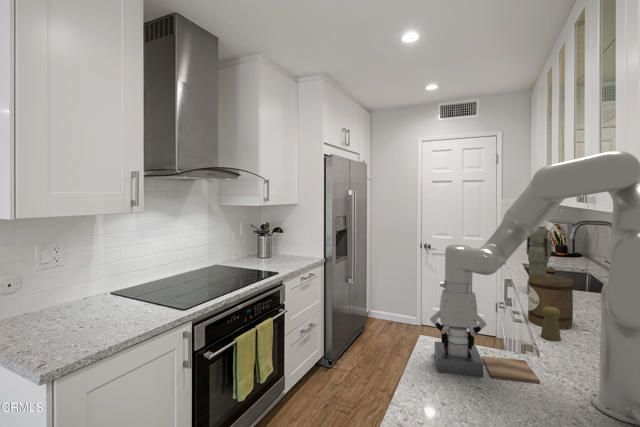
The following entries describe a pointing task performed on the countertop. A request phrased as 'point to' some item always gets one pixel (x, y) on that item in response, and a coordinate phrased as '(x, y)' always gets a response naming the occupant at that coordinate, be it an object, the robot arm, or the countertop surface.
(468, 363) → the metal collar
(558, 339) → the cork
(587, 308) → the countertop surface
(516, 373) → the brown pad
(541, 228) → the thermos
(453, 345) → the pill bottle
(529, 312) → the wooden container
